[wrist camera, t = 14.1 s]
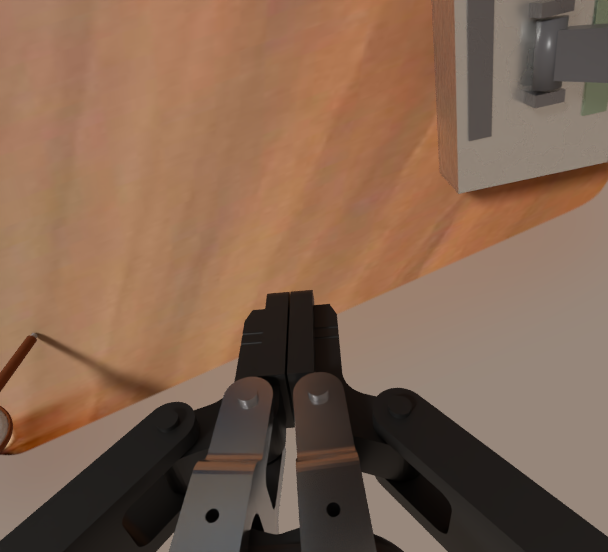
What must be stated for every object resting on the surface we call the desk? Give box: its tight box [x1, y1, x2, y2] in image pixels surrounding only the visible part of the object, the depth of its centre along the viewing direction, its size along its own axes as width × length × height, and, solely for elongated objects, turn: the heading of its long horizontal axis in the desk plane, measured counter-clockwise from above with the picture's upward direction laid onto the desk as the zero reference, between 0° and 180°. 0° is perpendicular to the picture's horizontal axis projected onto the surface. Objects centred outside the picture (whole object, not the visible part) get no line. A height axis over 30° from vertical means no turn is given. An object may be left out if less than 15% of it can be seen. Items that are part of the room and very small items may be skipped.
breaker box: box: [432, 0, 608, 194], centre depth 38 cm, size 22×14×8 cm, turn 12°
